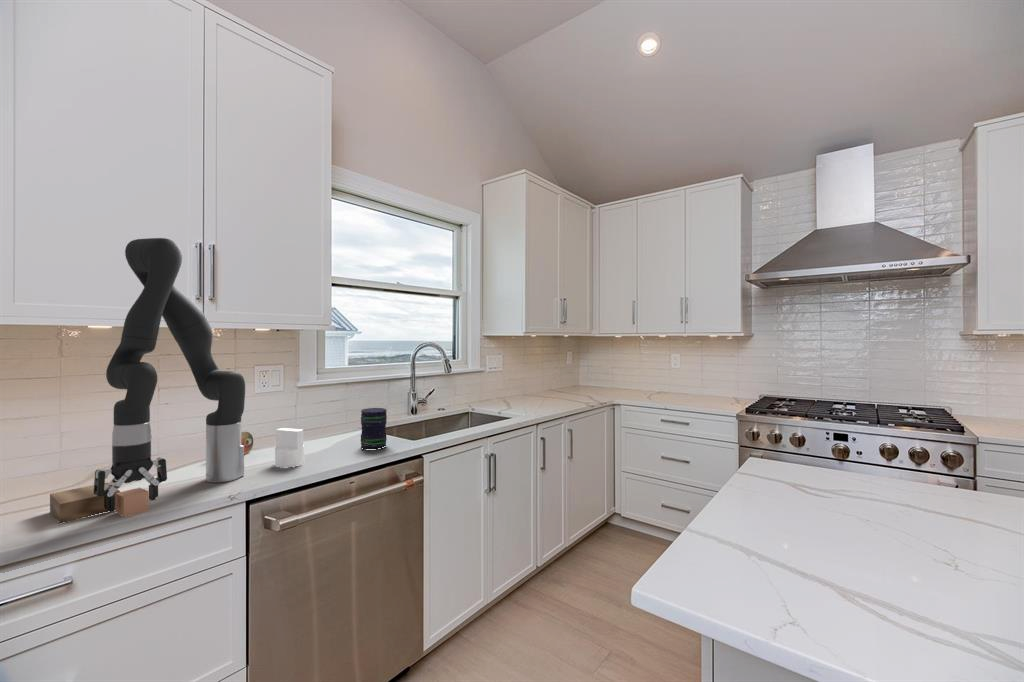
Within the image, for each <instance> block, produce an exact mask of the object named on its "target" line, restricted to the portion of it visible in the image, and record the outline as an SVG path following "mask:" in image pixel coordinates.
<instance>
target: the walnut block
mask: <svg viewBox="0 0 1024 682" xmlns="http://www.w3.org/2000/svg"><path fill="white" fill-rule="evenodd" d="M109 483H110V482H105V486H104V490H105V489H106V488H107V487H108V485H109ZM119 492H121V490H119V488H118V489H117V490H116V492H115V493H119ZM115 493H114V494H113V496H114V510H115ZM103 512H108V510H107V509H105V507H104V496H97V495H95V494H94V484H93V485H87V486H82V487H78V488H71V489H68V490H62V491H57V492H52V493H50V494H49V513H50V514H51V515H52V516H53V517H54V519H55V518H56V519H57V520H58V521H59V522H58V521H57V520H56V519H55V520H56V521H57V522H58V523H59V524H60V523H62V524H64V523H63V522H66V523H69V522H68V521H70V522H73V520H74V521H77V519H79V520H82V519H81V518H83V517H87V518H89V517H88V516H91V515H95V514H99V513H103ZM108 513H109V512H108ZM95 516H96V515H95ZM91 517H92V516H91ZM83 519H84V518H83Z"/></svg>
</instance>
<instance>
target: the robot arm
mask: <svg viewBox="0 0 1024 682" xmlns="http://www.w3.org/2000/svg"><path fill="white" fill-rule="evenodd" d="M124 255H125V260H126V262H127V264H128V266H129V268H130V269H131V271H132V272H133V273H134V274H135V276H136V278H137V279H138V280H139V282H140V283H141V285H143V289H142V291H141V293H140V295H138V298H137V299H136V300H135V301H134V303H133V305H132V306H131V307H130V309H129V310H128V312H127V314H126V317H125V318H124V319H125V320H124V323H123V328H122V332H121V338H120V342H119V344H118V347H116V349H115V351H114V353H113V355H112V357H111V359H110V361H109V363H108V365H107V367H106V372H105V376H106V381H107V383H108V385H109V386H111V387H112V388H114V389H117V390H126V394H125V397H124V399H121V400H118V401H116V402H115V404H114V406H113V426H112V435H111V443H112V444H111V451H112V452H111V460H112V461H111V463H112V464H111V467H110V468H109V469H108V468H107V469H96V470H95V472H94V479H93V485H94V494H95V495H97V496H104V507H105V509H107V510H108V511H110V512H109V513H112V512H115V511H114V496H113V494H114V493H115V492H116V490H117V489H118V490H119V489H120V488H121V487H122V485H124V484H130V483H132V482H135V481H136V482H137V481H141V480H142V479H144V480H145V481H146V482H148V483H149V484H148V501H152V502H153V501H155V500H156V499H157V497H158V496H159V485H160V484H161V483H162V482H166V481H167V480H168V474H167V460H166V459H165V458H163V457H157V458H156V459H152V437H153V436H152V428H151V422H150V421H151V407H150V406H151V403H152V400H153V397H154V394H155V391H156V387H157V383H158V372H157V371H156V368H155V367H154V365H152V364H151V363H149V362H146V361H141V360H142V359H143V356H144V355H146V354H149V353H152V352H154V350H155V349H156V346H157V341H158V336H159V330H160V325H161V321H162V319H163V320H164V322H165V324H166V326H167V328H168V330H169V332H170V333H171V336H173V339H174V340H175V342H176V343H177V345H178V347H179V348H180V351H181V352H182V354H183V356H184V358H185V360H186V362H187V364H188V366H189V369H190V370H191V372H192V373H191V374H193V378H194V380H195V382H196V386H197V389H198V390H199V392H200V393H201V395H202V396H203V397H204V398H206V399H207V400H209V401H210V400H211V401H217V408H216V410H215V411H213V412H210V413H208V414H207V415H206V417H205V481H206V482H208V483H226V482H231V481H234V480H237V479H239V478H240V477H243V476H245V455H244V446H243V445H241V432H242V416H243V414H244V411H245V401H246V400H245V399H246V382H245V378H244V376H243V375H242V374H241V373H240V372H238V371H232V370H220V368H219V367H218V366H217V364H216V362H215V360H214V358H213V355H212V345H213V343H212V342H213V330H212V327H211V325H210V323H209V321H208V320H207V318H206V317H207V316H205V313H204V312H203V310H202V309H201V308H200V307H199V306H198V305H197V304H196V302H194V301H193V300H192V299H191V298H190V297H189V296H188V295H186V294H185V293H184V292H183V291H182V290H180V289H179V287H177V285H176V284H175V281H176V279H177V277H178V274H179V272H180V268H181V266H182V263H183V252H182V249H181V247H180V246H179V245H178V243H177V242H175V241H174V240H171V239H170V238H165V237H153V238H151V237H149V238H137V239H133V240H130V241H129V242H128V243H127V244H126V246H125V250H124ZM153 466H154V468H156V478H155V476H154V475H152V474H151V473H150V472H149V471H150V470H151V468H152V467H153ZM109 475H112V476H113V478H112V479H111V480H110V482H108V483H109V485H108V487H107V488H106V489H105V490H104V486H105V483H106V479H108V477H109ZM111 511H112V512H111Z"/></svg>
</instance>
